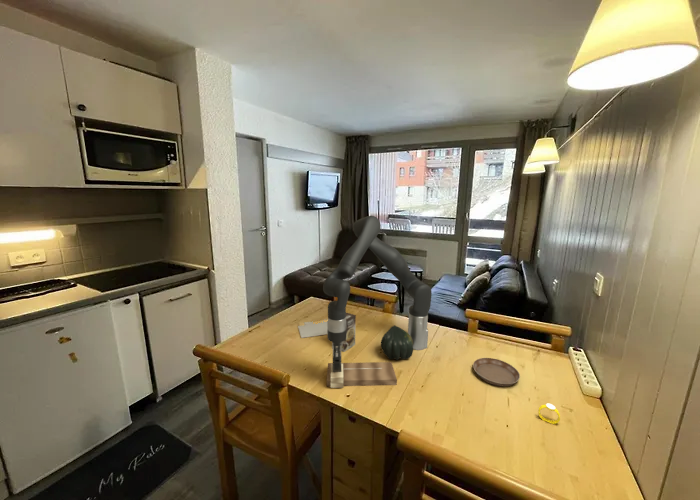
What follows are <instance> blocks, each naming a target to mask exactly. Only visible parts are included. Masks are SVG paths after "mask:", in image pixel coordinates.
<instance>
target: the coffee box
mask: <svg viewBox="0 0 700 500" xmlns="http://www.w3.org/2000/svg"><path fill="white" fill-rule="evenodd" d="M356 320H357V319H356V314H354V313H350V312H347V311H346V339H345V340H344V341H343V342H342V349H341V352H344V353H345V352H346V351H348V350H350V349H351V348H353V347H354V346H356Z"/></svg>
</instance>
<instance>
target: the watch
mask: <svg viewBox="0 0 700 500" xmlns="http://www.w3.org/2000/svg"><path fill="white" fill-rule="evenodd" d="M542 409H547V410H549V411H552V412H555V413H556V415H557V419H554V420H552V419H549V418H545V417H544V416H543V414H541V410H542ZM537 412H538V413H537V414H538V416H539V418H540V419H541V420H542V421H543V422H547V423H549V424H551V425H554V424H558V423H559V422H560V420H561V414H560V411H559V410H558V409H557V408H556V406H555V405H553V404H552V403H546V404H541V405H540V406H539V407H538V411H537Z"/></svg>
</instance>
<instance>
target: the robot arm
mask: <svg viewBox="0 0 700 500" xmlns="http://www.w3.org/2000/svg"><path fill="white" fill-rule="evenodd" d="M381 225H382V224H381V221H380V220H379V218H378V217H377V216H375V215H368V216H364V217H362V218H359V219H358V220H356V221H354V223H353V225H352V230H353V234H355V236H356V238H357V239H356V240H355V241H354V243H352V245H351V246H350V247H349V248H348V249H347V251H346V252H345V253H344V255H343V256H342V258H341V260H340V261H339V263H338V265H337V267H336V268H335V269H334V270H333V271H332V272H331V273H330V274H329V275H328V276H327V277H326V278H325V281H324V282H323V286H322V290H323V293H324V294H325V295H326V296H329V297H334V298H336V299H337V300H332V301H329V302H328V305H327V319H328V321H327V334H326V336H327V339H328V341H329V342H331V349H332V357H333V356H334V361H333V360H332V363H333V362H334V370H340V356H341V357H342V351H341V349H342V342H343V341H344V340H345V339H346V312H347V311H346V310H347V309H346V308H347V305H348V300H349V297H350V294H351V284H350V283H349V281H347V279H351V278H353V276H354V274H355V272H356V270H357V268H358V267H359V264H360V262H361V260H362V259H363V257H364V255H365V253H366V252H367V250H368V249H369V250H370V251H371V252H372V253H373V254H374V256H376V257H377V259H378V260H379V261H380V262H381V263H382V265H383V266H384V267H385V268H386V269H387V271H388V272H389V273H390V274H391V275H392V276H394V277H395V279H396V280H398V282H400V283H401V285H402V287H403V288H404V289H405V291H406V293H407V294H408V295H409V297H411V298H412V299H413V302H412V303H413V304H411V305H410V306H409V308H408V321H407V322H408V324H407V325H408V326H407V333H408V334H409V335H410V336H411V338H412V340H413V350H417V351H418V350H419V351H421V350H424V349H428V342H429V329H428V319H429V311H430V309H431V305H432V303H431V302H432V297H433V295H432V293H433V292H432V289H431V286H430V285H428V284H426V283H425V282H424V281H422V280H420V279H419V278H417V276H416V275H415V274H413V272H412V271H411V270H410V267H409V265H408V263H407V261H406V259H405V257H404V256H403V255H402V253H401V252H400V251H399V250H398V249H397V248H395V247H394V246H391V245H390V244H388V243H387V242H384V241H382V240H381V239H380V238H378V237H377V236H378V235H379V234H380V231H381V227H382V226H381Z"/></svg>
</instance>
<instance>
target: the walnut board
mask: <svg viewBox="0 0 700 500" xmlns="http://www.w3.org/2000/svg"><path fill="white" fill-rule="evenodd" d="M331 364H333V362H328V363H327V369H326V370H327V371H326V387H331ZM341 364H343V387H365V386H366V387H368V386H370V387H371V386H397V385H398V384H397V383H398V378H397V375H396V372H395V368H394V365H393V362H391V361H385V362H383V361H379V362H378V361H376V362H375V361H374V362H371V361H369V362H341Z"/></svg>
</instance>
